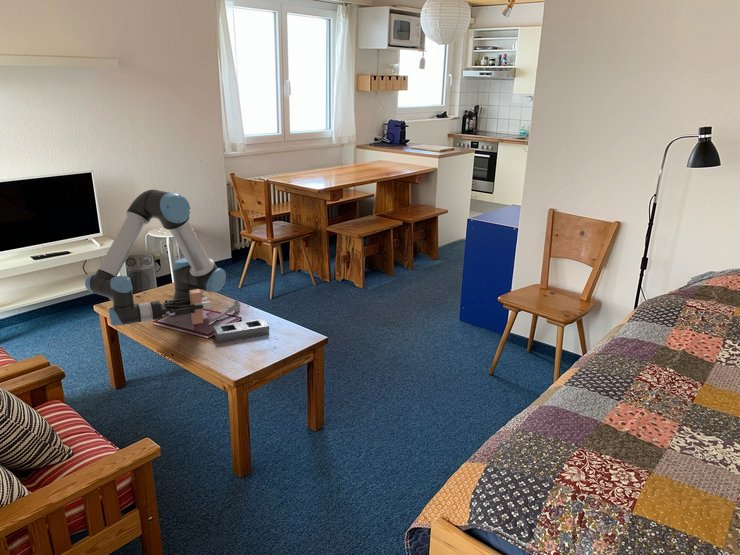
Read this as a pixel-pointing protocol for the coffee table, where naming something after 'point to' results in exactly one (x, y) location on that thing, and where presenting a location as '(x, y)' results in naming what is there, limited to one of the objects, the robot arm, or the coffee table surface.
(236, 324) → the grey peg hole block
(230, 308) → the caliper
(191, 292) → the peg
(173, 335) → the coffee table surface
